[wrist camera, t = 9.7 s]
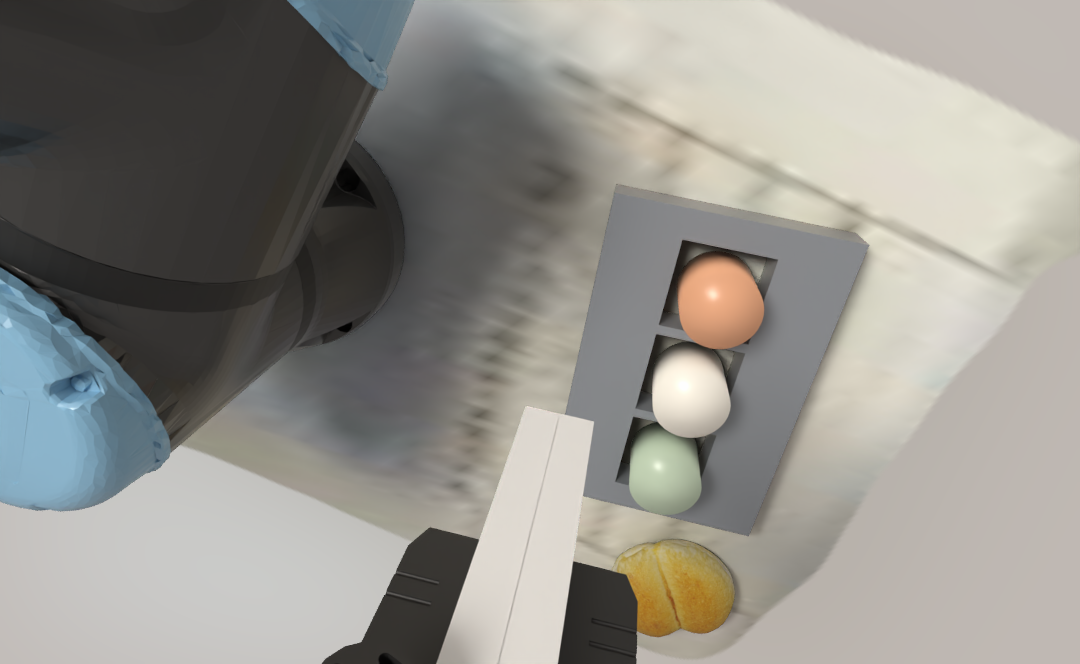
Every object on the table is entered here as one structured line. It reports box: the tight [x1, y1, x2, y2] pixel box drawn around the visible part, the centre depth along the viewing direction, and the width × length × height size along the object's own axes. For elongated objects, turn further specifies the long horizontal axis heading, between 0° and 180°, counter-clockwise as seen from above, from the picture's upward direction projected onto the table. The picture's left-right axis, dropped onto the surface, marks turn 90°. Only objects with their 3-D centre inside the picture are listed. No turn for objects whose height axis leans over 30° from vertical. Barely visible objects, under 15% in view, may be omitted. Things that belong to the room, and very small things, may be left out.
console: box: [565, 184, 869, 536], centre depth 40 cm, size 14×21×2 cm, turn 170°
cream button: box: [652, 342, 731, 438], centre depth 38 cm, size 4×4×4 cm
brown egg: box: [677, 251, 764, 349], centre depth 36 cm, size 4×4×4 cm
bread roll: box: [612, 539, 735, 637], centre depth 47 cm, size 8×9×4 cm
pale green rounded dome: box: [629, 422, 702, 515], centre depth 41 cm, size 4×4×4 cm
